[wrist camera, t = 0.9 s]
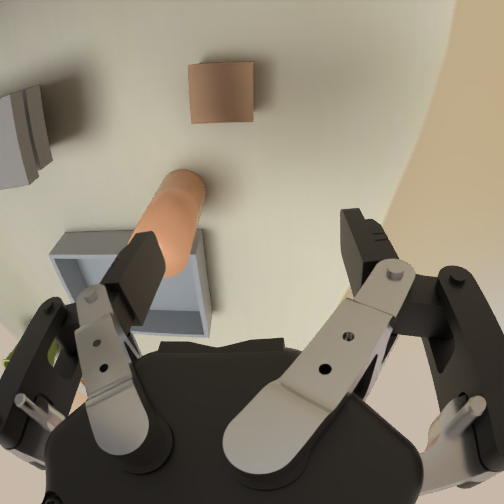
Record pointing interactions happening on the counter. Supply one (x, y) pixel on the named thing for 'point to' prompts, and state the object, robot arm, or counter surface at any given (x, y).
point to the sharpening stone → (22, 138)
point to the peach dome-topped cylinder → (175, 217)
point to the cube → (221, 92)
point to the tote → (167, 296)
